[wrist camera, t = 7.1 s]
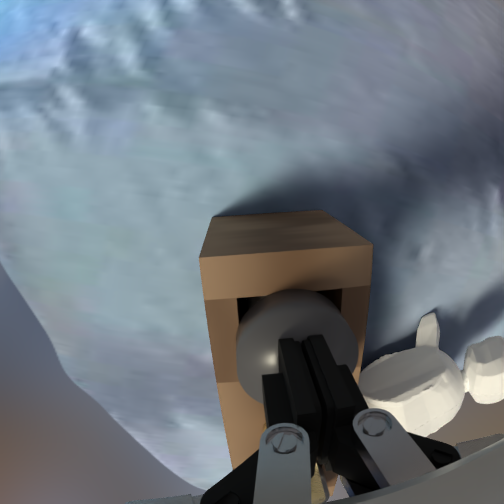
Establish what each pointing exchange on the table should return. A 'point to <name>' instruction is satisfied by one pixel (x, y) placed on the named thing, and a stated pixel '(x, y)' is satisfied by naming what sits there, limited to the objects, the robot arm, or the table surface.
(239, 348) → the knob
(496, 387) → the white piece
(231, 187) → the table surface
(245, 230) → the walnut mount
